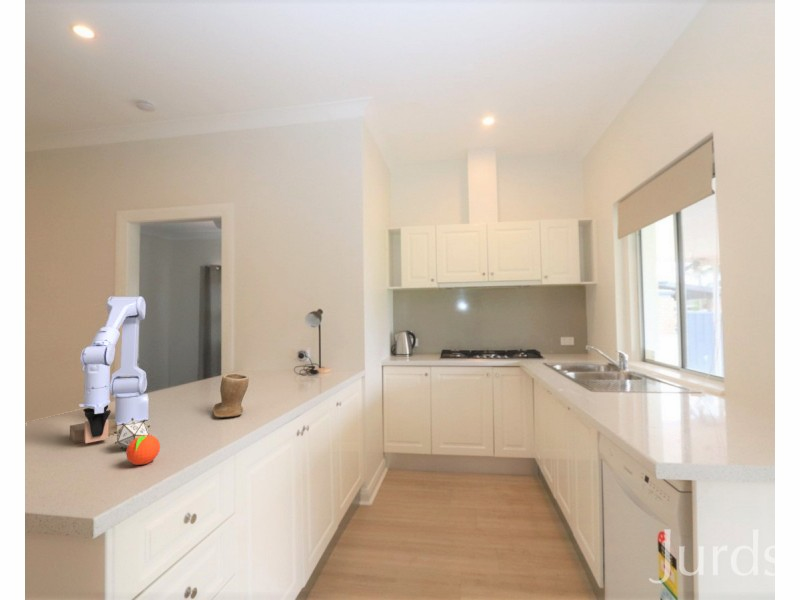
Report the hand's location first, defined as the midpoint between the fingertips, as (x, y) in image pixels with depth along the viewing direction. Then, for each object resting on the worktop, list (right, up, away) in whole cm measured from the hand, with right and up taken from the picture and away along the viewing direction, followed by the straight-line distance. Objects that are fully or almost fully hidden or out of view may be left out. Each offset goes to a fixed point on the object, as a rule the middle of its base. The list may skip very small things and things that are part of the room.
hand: (96, 433), depth 105 cm
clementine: (+24, -2, -15) cm, 29 cm away
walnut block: (-6, -3, +6) cm, 9 cm away
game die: (+14, -3, -5) cm, 15 cm away
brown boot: (+25, -4, +30) cm, 39 cm away
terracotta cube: (0, -1, 0) cm, 1 cm away
